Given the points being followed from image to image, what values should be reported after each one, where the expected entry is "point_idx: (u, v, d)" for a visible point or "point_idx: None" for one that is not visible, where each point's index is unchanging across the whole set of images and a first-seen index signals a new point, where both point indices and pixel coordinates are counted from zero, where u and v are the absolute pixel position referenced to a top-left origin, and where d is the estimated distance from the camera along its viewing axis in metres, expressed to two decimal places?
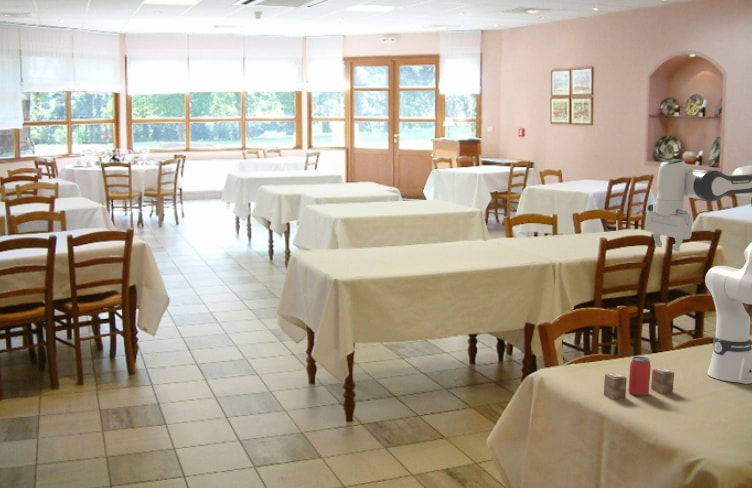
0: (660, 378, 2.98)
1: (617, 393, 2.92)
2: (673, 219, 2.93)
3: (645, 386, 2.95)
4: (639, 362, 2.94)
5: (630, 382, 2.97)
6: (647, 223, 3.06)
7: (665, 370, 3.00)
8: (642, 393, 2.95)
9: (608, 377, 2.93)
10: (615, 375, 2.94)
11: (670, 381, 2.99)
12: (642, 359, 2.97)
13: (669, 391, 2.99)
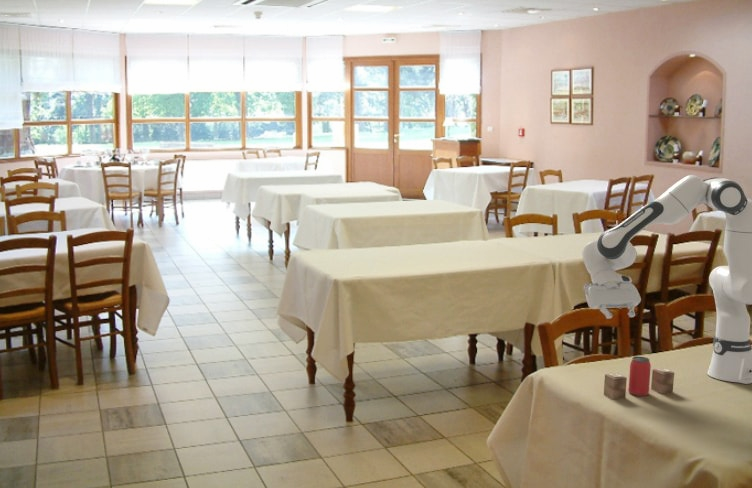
0: (660, 378, 2.98)
1: (617, 393, 2.92)
2: None
3: (645, 386, 2.95)
4: (639, 362, 2.94)
5: (630, 382, 2.97)
6: None
7: (665, 370, 3.00)
8: (642, 393, 2.95)
9: (608, 377, 2.93)
10: (615, 375, 2.94)
11: (670, 381, 2.99)
12: (642, 359, 2.97)
13: (669, 391, 2.99)
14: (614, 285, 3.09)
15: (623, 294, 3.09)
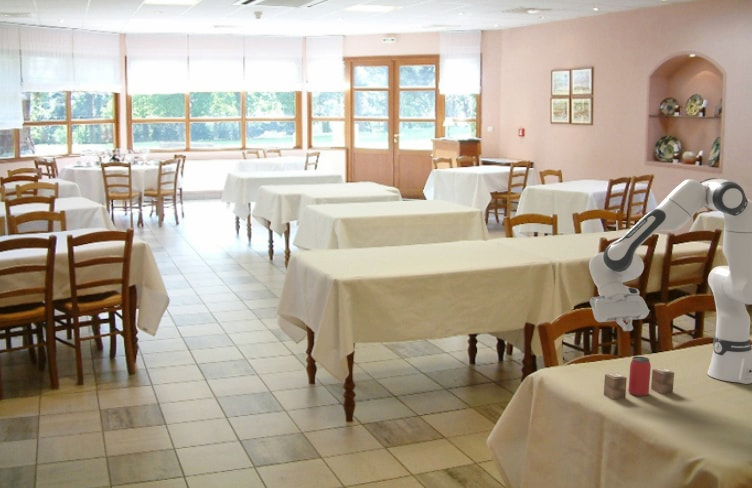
0: (660, 378, 2.98)
1: (617, 393, 2.92)
2: None
3: (645, 386, 2.95)
4: (639, 362, 2.94)
5: (630, 382, 2.97)
6: None
7: (665, 370, 3.00)
8: (642, 393, 2.95)
9: (608, 377, 2.93)
10: (615, 375, 2.94)
11: (670, 381, 2.99)
12: (642, 359, 2.97)
13: (669, 391, 2.99)
14: (621, 298, 3.05)
15: (631, 307, 3.06)
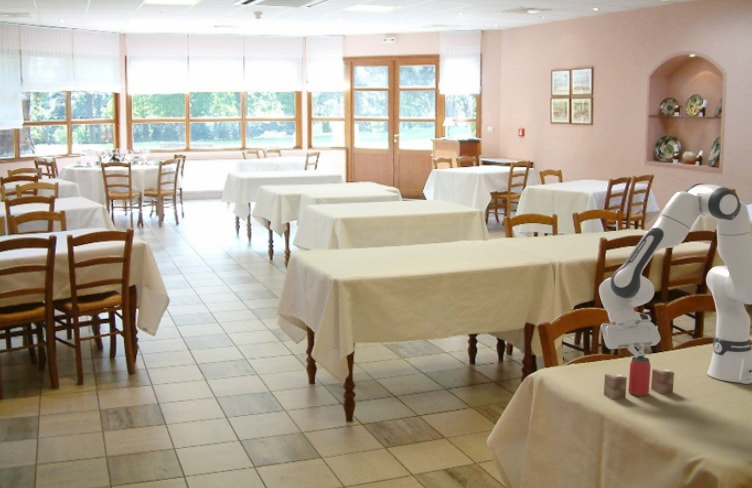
0: (660, 378, 2.98)
1: (617, 393, 2.92)
2: None
3: (645, 387, 2.95)
4: (639, 362, 2.94)
5: (630, 382, 2.97)
6: None
7: (665, 370, 3.00)
8: (642, 393, 2.95)
9: (608, 377, 2.93)
10: (615, 375, 2.94)
11: (670, 381, 2.99)
12: (642, 359, 2.97)
13: (669, 391, 2.99)
14: (632, 324, 3.00)
15: (642, 333, 3.00)
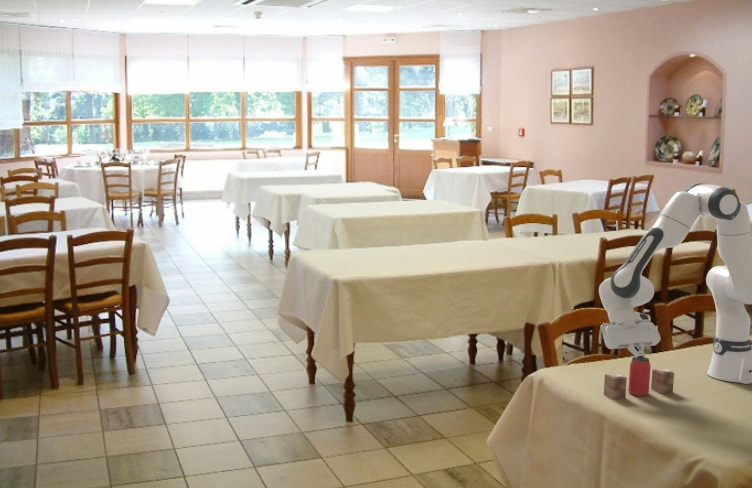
0: (660, 378, 2.98)
1: (617, 393, 2.92)
2: None
3: (645, 387, 2.95)
4: (639, 362, 2.94)
5: (630, 382, 2.97)
6: None
7: (665, 370, 3.00)
8: (642, 393, 2.95)
9: (608, 377, 2.93)
10: (615, 375, 2.94)
11: (670, 381, 2.99)
12: (642, 359, 2.96)
13: (669, 391, 2.99)
14: (632, 324, 3.00)
15: (642, 333, 3.00)
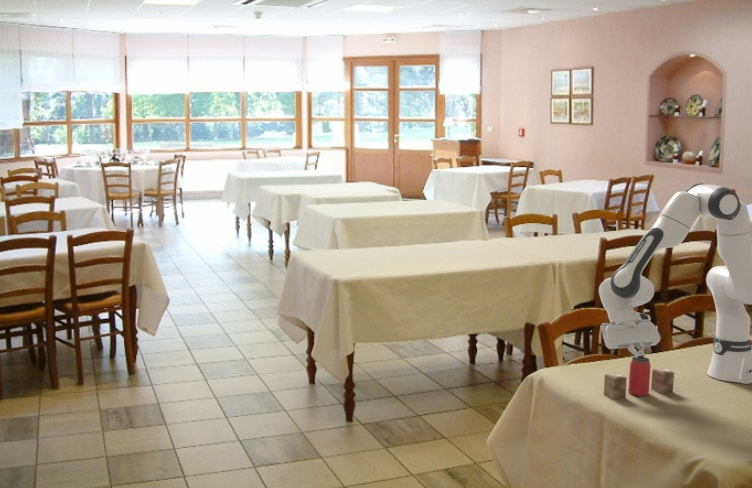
0: (660, 378, 2.98)
1: (617, 393, 2.92)
2: None
3: (645, 387, 2.95)
4: (639, 362, 2.94)
5: (630, 382, 2.97)
6: None
7: (665, 370, 3.00)
8: (642, 393, 2.95)
9: (608, 377, 2.93)
10: (615, 375, 2.94)
11: (670, 381, 2.99)
12: (642, 359, 2.96)
13: (669, 391, 2.99)
14: (632, 324, 3.00)
15: (642, 333, 3.00)
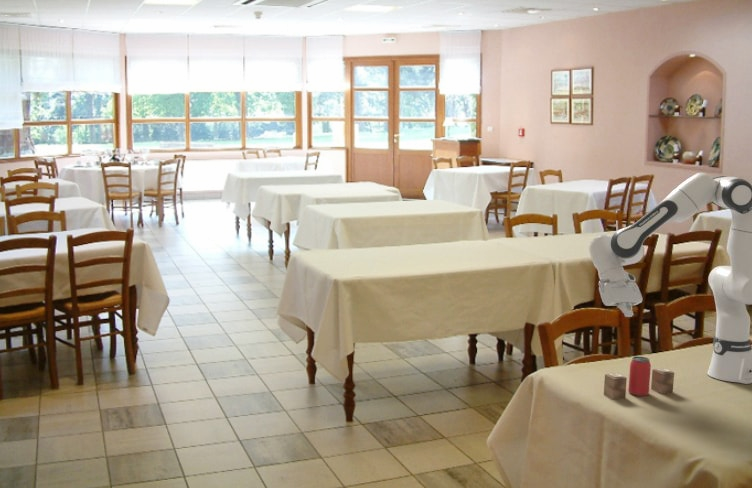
0: (660, 378, 2.98)
1: (617, 393, 2.92)
2: None
3: (645, 386, 2.95)
4: (639, 362, 2.94)
5: (630, 382, 2.97)
6: None
7: (665, 370, 3.00)
8: (642, 393, 2.95)
9: (608, 377, 2.93)
10: (615, 375, 2.94)
11: (670, 381, 2.99)
12: (642, 359, 2.97)
13: (669, 391, 2.99)
14: (624, 283, 3.08)
15: (630, 293, 3.09)
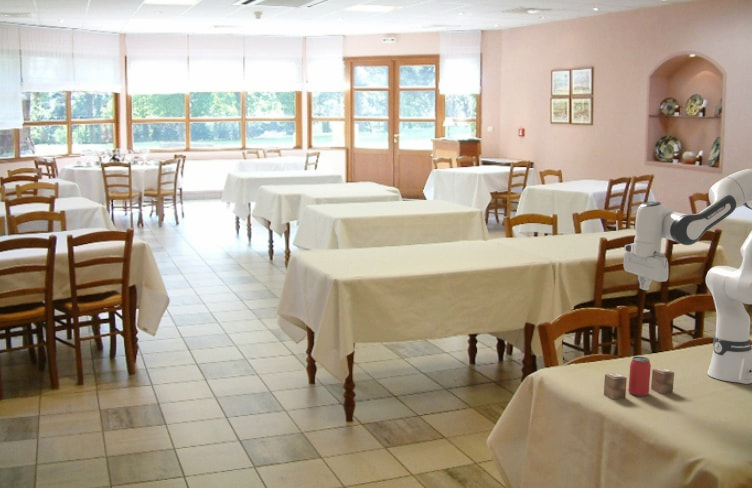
0: (660, 378, 2.98)
1: (617, 393, 2.92)
2: (650, 261, 2.97)
3: (645, 386, 2.95)
4: (639, 362, 2.94)
5: (630, 382, 2.97)
6: (625, 263, 3.10)
7: (665, 370, 3.00)
8: (642, 393, 2.95)
9: (608, 377, 2.93)
10: (615, 375, 2.94)
11: (670, 381, 2.99)
12: (642, 359, 2.97)
13: (669, 391, 2.99)
14: None
15: None
